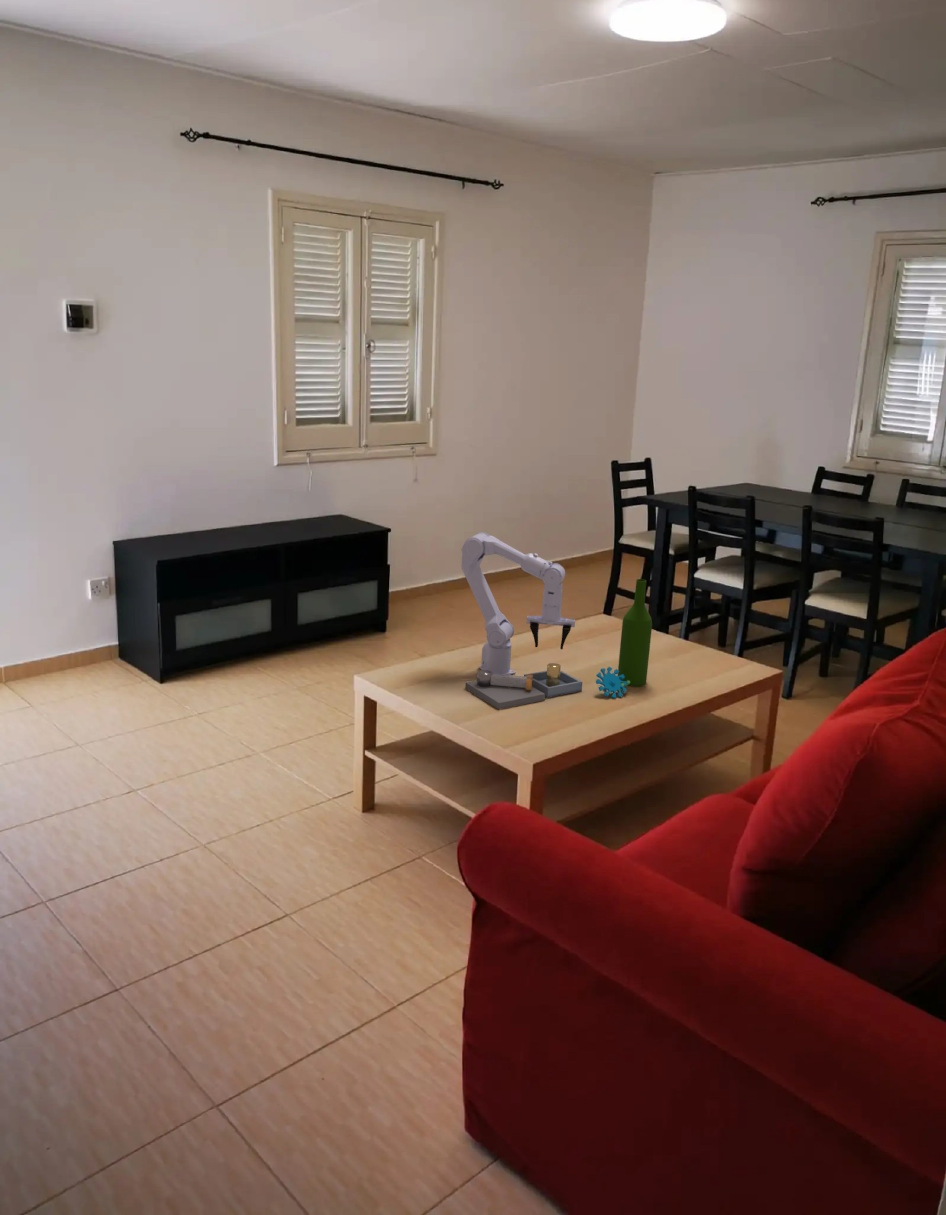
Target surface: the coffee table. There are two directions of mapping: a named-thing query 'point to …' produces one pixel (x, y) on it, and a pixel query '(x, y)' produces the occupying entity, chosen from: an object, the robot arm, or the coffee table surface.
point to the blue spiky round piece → (612, 682)
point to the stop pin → (553, 674)
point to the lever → (503, 680)
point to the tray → (565, 686)
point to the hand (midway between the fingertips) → (549, 647)
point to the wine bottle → (635, 640)
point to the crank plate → (505, 695)
